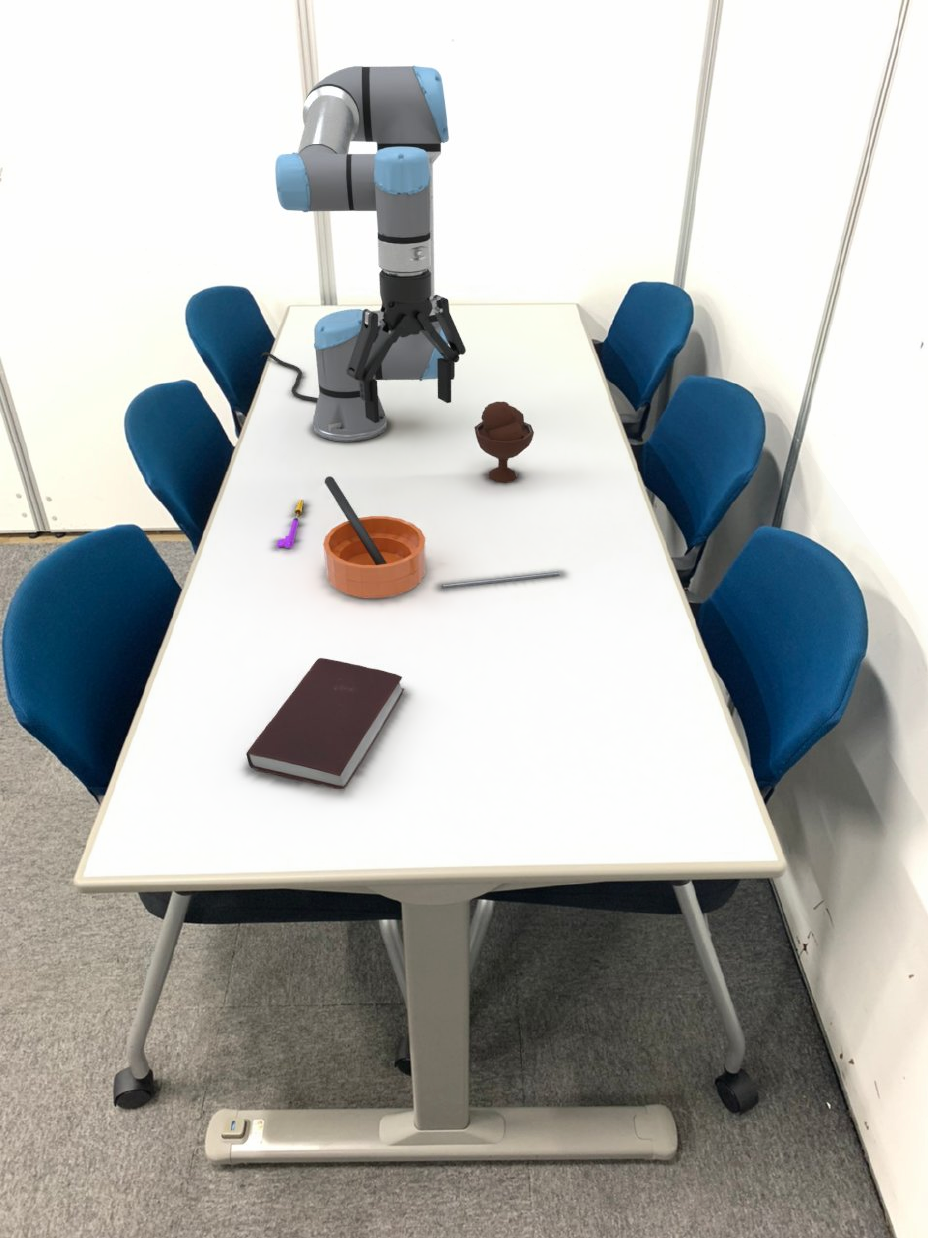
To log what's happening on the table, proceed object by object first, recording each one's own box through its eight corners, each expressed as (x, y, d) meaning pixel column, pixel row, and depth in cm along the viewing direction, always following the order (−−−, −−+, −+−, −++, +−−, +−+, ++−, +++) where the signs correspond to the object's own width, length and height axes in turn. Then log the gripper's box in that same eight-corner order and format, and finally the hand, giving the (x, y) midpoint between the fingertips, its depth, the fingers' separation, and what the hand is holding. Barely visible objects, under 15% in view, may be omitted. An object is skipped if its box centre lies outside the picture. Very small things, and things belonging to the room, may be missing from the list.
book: (247, 769, 107) (243, 749, 105) (319, 672, 122) (317, 653, 120) (343, 794, 104) (341, 775, 102) (404, 692, 118) (404, 673, 117)
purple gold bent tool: (293, 548, 147) (305, 502, 160) (290, 542, 147) (303, 497, 160) (277, 551, 148) (291, 505, 161) (275, 545, 147) (289, 500, 160)
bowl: (309, 566, 143) (306, 533, 140) (393, 538, 151) (391, 507, 147) (357, 612, 133) (355, 579, 130) (444, 580, 140) (444, 547, 137)
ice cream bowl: (527, 491, 165) (531, 414, 156) (468, 485, 166) (468, 409, 158) (535, 466, 173) (539, 392, 164) (478, 461, 175) (480, 387, 166)
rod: (441, 587, 139) (440, 583, 139) (558, 574, 142) (558, 570, 142) (441, 590, 139) (441, 586, 138) (559, 577, 142) (559, 573, 141)
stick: (327, 529, 151) (322, 476, 145) (335, 526, 152) (331, 473, 146) (388, 586, 138) (386, 530, 132) (397, 583, 139) (395, 527, 133)
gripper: (342, 289, 120) (353, 436, 132) (489, 262, 132) (486, 399, 144) (315, 276, 125) (328, 420, 137) (459, 251, 137) (459, 385, 149)
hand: (409, 409), depth 141 cm, fingers open, 13 cm apart
